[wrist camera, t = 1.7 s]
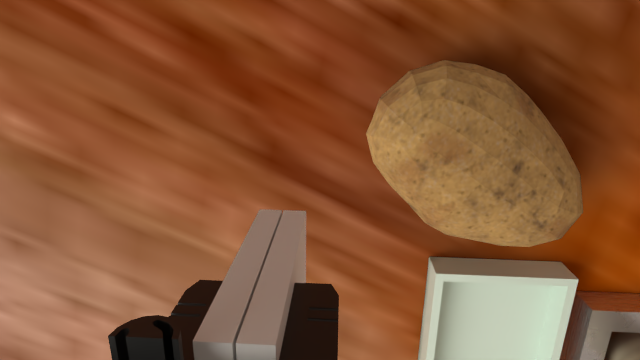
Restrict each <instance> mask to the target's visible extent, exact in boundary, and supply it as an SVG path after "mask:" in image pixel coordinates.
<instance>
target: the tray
mask: <svg viewBox="0 0 640 360" xmlns="http://www.w3.org/2000/svg"><path fill="white" fill-rule="evenodd" d="M578 280H579V279H578V278H577V277H576V276H575V275H574V274H573V273H572V272H571V271H570V270H569V269H568V268H567V267H566V266H565V265H564V264H563V263H562V262H552V261H526V260H500V259H474V258H448V257H429V263H428V273H427V282H426V291H425V300H424V310H423V319H422V328H421V337H420V346H419V356H418V360H559V359H560V355H561V351H562V347H563V342H564V338H565V334H566V330H567V326H568V322H569V317H570V313H571V309H572V305H573V301H574V297H575V293H576V288H577V284H578Z"/></svg>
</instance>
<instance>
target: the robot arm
mask: <svg viewBox="0 0 640 360" xmlns="http://www.w3.org/2000/svg"><path fill="white" fill-rule="evenodd" d="M338 306H339V295H338V294H337V292H336V291H335V289H334V288H333V286H332V285H331V284H315V283H306V211H290V210H284V211H283V214H282V210H259V212H258V214H257V216H256V218H255V220H254V222H253V224H252V226H251V227H250V229H249V231H248V233H247V235H246V237H245V239H244V241H243V243H242V245H241V247H240V249H239V251H238V253H237V255H236V257H235V259H234V261H233V263H232V265H231V267H230V269H229V271H228V273H227V275H226V277H225V278H224V280H223V281H213V280H199V281H198V282H197V283H195V284H194V285H192V286H191V287H190V288H188V289H187V290H186V291H185V292H184V294H183V296H182V297H181V299H180V300H179V302H178V305H176V306H175V308H174V310H173V311H172V313H171V316H169V317H164V316H159V315H156V316H144V317H141V318H137V319H134V320H131V321H129V322H127V323H125V324H123V325H121V326H119V327H118V328H116V329H115V330H114V331H113V332H112V333H111V334H110V335H109V336H108V338H109V344H110V349H111V355H112V360H337V355H338Z"/></svg>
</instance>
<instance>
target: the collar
mask: <svg viewBox="0 0 640 360" xmlns="http://www.w3.org/2000/svg"><path fill="white" fill-rule="evenodd" d="M612 332H630V333H640V294H636V293H613V292H589V291H576V293H575V297H574V301H573V305H572V309H571V313H570V317H569V322H568V326H567V330H566V334H565V338H564V342H563V347H562V351H561V355H560V359H559V360H604V358H605V354H606V351H607V347H608V343H609V340H610V336H611V333H612Z"/></svg>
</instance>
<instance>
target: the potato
mask: <svg viewBox="0 0 640 360" xmlns="http://www.w3.org/2000/svg"><path fill="white" fill-rule="evenodd" d="M366 135H367V139H368V143H369V147H370V151H371V155H372V159H373V163H374V164H375V166H376V167H377V168H378V170H379V171H380V172H381V174H382V175H383V176H384V178H385V179H386V181H387V182H388V183H389V185H390V186H391V187H392V188H393V189H394V190H395V191H396V192H397V193H398V194H399V195H400V196H401V197H402V198H403V199H404V200H405V201H406V202H407V203H408V204H409V205H410V206H411V207H412V209H413V210H414V211H415V212H416V213H417V214H418V215H419V217H420V218H421V219H422V220H423V221H424V222H425V223H426V224H428V225H430V226H432V227H433V228H435V229H437V230H439V231H441V232H442V233H444V234H446V235H451V236H456V237H461V238H466V239H471V240H476V241H481V242H485V243H490V244H495V245H501V246H520V247H531V246H535V245H538V244H542V243H546V242H550V241H553V240H557V239H561V238H562V237H563V235H564V234H565V233H566V232H567V231H568V229H569V228H570V227H571V226H572V225H573V224H574V222H575V221H576V220H577V219H578V218H579V216H580V215H581V214H582V213H583V203H582V190H581V177H580V173H579V171H578V169H577V167H576V165H575V164H574V162H573V160H572V158H571V156H570V154H569V152H568V150H567V148H566V146H565V144H564V143H563V141H562V139H561V138H560V136H559V135H558V133H557V132H556V131H555V129H554V128H553V127H552V125H551V124H550V122H549V121H548V120H547V118H546V117H545V116H544V114H543V113H542V112H541V110H540V109H539V108H538V107H537V106H536V104H535V103H534V102H533V101H532V100H531V98H530V97H529V96H528V95H527V94H526V93H525V92H524V91H523V90H522V89H521V88H519V87H518V86H517V85H516V84H515V83H514V82H513V81H512V80H511V79H510V78H508V77H507V76H506V75H505V74H502V73H499V72H496V71H494V70H491V69H488V68H485V67H482V66H479V65H476V64H470V63H462V62H455V61H447V60H443V61H440V62H437V63H433V64H430V65H427V66H424V67H421V68H417V69H414V70H411V71H409V72H408V73H407V74H406V75H405V76H403V77H402V78H401V79H400V80H399V81H398V82H397V83H396V84H394V85H393V86H392V87H391V88H390V89H389V90H388V91H387V92H385V93H384V94H383V95H382V96H381V97H380V99H379V102H378V104H377V107H376V110H375V113H374V116H373V118H372V121H371V123H370V126H369V128H368V130H367V133H366Z"/></svg>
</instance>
